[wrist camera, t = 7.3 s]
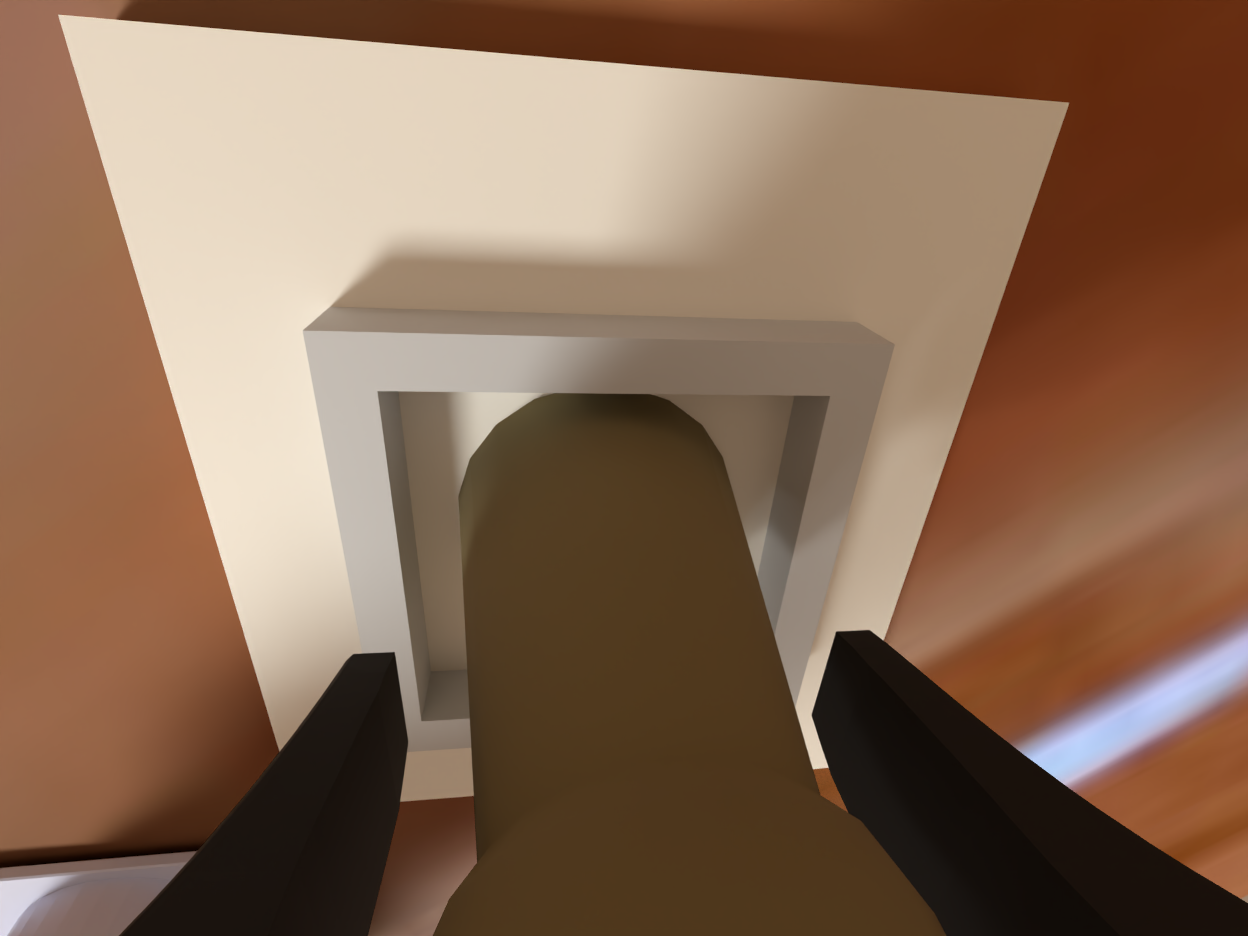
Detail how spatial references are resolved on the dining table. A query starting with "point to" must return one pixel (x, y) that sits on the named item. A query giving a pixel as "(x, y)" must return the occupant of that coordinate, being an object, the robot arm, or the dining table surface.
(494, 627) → the cork
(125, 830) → the dining table surface
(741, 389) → the holder board
